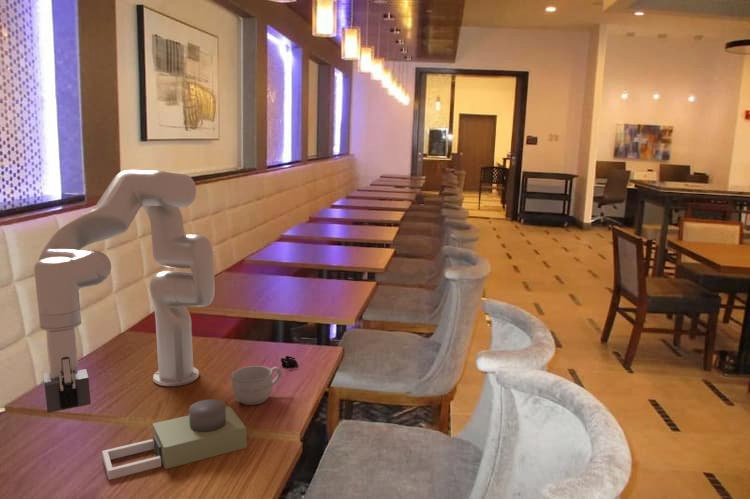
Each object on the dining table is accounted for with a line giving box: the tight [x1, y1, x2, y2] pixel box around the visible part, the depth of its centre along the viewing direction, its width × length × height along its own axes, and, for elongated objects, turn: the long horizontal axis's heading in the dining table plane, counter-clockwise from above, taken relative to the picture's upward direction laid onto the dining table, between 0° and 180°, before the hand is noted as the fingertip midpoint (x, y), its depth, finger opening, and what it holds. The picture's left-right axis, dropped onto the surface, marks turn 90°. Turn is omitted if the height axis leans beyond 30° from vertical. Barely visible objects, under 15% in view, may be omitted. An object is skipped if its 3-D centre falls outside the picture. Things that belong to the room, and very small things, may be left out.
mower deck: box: [101, 398, 248, 481], centre depth 135 cm, size 12×29×9 cm, turn 121°
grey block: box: [42, 368, 92, 414], centre depth 126 cm, size 5×8×7 cm, turn 120°
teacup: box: [231, 365, 283, 406], centre depth 162 cm, size 14×11×8 cm
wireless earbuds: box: [280, 355, 298, 368], centre depth 185 cm, size 7×2×5 cm
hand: (68, 400), depth 126 cm, fingers closed on grey block, 5 cm apart
